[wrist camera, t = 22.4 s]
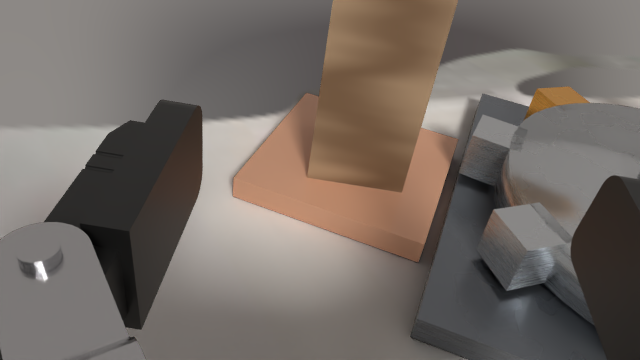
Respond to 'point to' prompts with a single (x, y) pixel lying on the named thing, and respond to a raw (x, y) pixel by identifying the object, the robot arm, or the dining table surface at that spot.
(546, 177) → the sprocket
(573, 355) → the sprocket base
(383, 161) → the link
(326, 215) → the salmon brown square slab
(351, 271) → the dining table surface
